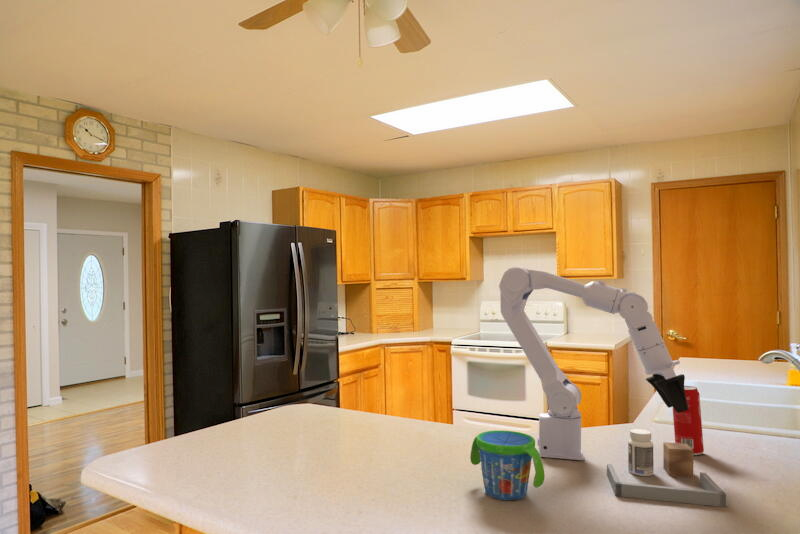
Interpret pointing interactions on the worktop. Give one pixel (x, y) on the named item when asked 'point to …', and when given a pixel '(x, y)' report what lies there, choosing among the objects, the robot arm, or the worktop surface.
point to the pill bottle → (640, 453)
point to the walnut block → (678, 459)
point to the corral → (670, 491)
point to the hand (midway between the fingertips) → (677, 408)
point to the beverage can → (690, 422)
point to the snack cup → (507, 463)
